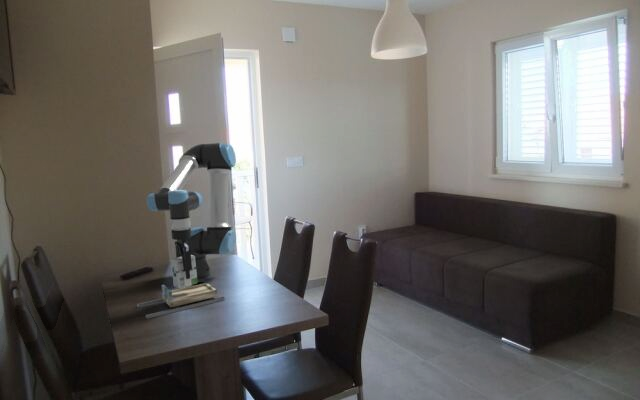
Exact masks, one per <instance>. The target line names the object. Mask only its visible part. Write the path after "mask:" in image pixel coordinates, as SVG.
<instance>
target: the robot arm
mask: <svg viewBox="0 0 640 400" xmlns="http://www.w3.org/2000/svg"><path fill="white" fill-rule="evenodd" d="M236 157H237V156H236V152H235V150H234V147H233V146H232V145H231V144H230V143H228V142H227V143H226V142H225V143H224V142H219V143H218V142H217V143H200V144H199V143H198V144H197V145H194V146H192V147H190V148H189V149H188V150H187V151H185V152H184V153H183V154H182V155H181V156H180V158H179V160H178V164H177V166H176V167H175V168H174V170H173V171H172V172H171V174H170V175H169V176H168V178H167V179H166V181H165V182H164V183H163V185H162V186H161V187H160V189H159V190H158V192H153V193H150V194H148V195H147V197H146V205H147V208H148V209H149V210H150V211H152V212H167V211H168V212H169V218H170V221H169V224H170V228H171V231H170V232H171V238H172V240H174V247H175V258H177V257H181V256H182V260H183V267H184V270H182V272H183V275H184V286H185V287H184V288H186V287H191V286H193V285H192V283H191V271H190V270H192V262H191V255H194V256H195V262H196V272H197V280H198V279H202V278H203V279H204V278H206V277H208V276H211V274H212V270H211V266H210V264H209V262H208V259H207V255H211V256H212V255H219V256H222V255H230V254H231V253H232V252H233V251H234V249H235V246H236V240H237V235H236V232H235V230H233V229H232V225H231V224H229V174H230V173H231V172H232V168H234V167H235V165H236V163H237V161H236V160H237V159H236ZM203 168H206V170H207V172H208V173H209V174H210V175H209V177H210V181H209V182H210V183H209V186H210V188H209V190H210V191H209V196H210V197H209V198H210V202H209V204H210V207H209V209H210V211H209V214H210V215H209V216H210V218H209V219H210V221H209V224H208V225H207V227H206V230H205V227H203V226H199V227H197V226H196V227H192V228H190V227H191V217H190V212H191V211H193V210H196V209H198V208H200V207H201V206H202V204H203V197H202V194H201V193H199V192H198V191H187V189H183V188H184V187H185V184H186V183H187V182H188V181H189V179H190V177H191V176H192V175H193V173H195V172H197V171H198V170H199V169H203Z"/></svg>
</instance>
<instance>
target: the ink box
mask: <svg viewBox="0 0 640 400" xmlns="http://www.w3.org/2000/svg"><path fill="white" fill-rule="evenodd" d="M170 261H171V263H170V264H171V271H172V273H171V274H172V282H173V287H175V288H177V289H182V288H186V287H185V286H184V275H183V272H182V270H184V267H183V260H182V256H181V257H177V258H176V257H174V258H171V259H170ZM191 262H192V270H190V271H191V283H192V286H194V285H198V283H199V282H198V279H197V272H196V262H195V256H194V255H191Z"/></svg>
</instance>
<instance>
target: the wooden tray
mask: <svg viewBox="0 0 640 400" xmlns="http://www.w3.org/2000/svg"><path fill="white" fill-rule="evenodd" d="M161 294H162V295H161V296H162V298H163V300H164V301H165V303H166V304H167V305H168V306H169V308H172V309H173V308H178V307H180V306H184V305H189V304H193V303H197V302H201V301H206V300H211V299H215V298H218V290H217V289H216V288H214V287H213V286H212V285H210V284H209V283H208V282H205V283H200V284H194V285H192V286H188V287H183V288H180V289H179V288H177V289H174V290H173V289H172V290H170V289H169V288H168V287H167V286H166V285H165V284H162V285H161Z"/></svg>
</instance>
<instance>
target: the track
mask: <svg viewBox="0 0 640 400" xmlns="http://www.w3.org/2000/svg"><path fill="white" fill-rule="evenodd" d="M221 301H225V296H220V297H215V298H214V299H211V300H210V299H206V300H202V301H198V302H194V303H189V304H185V305H181V306H178V307H177V308H173V307H172V308H170V309H165V310H161V311H157V312H154V313H149V314H145V319H152V318H155V317H160V316H163V315H168V314H169V315H170V314H173V313H176V312H182V311H185V310H189V309H193V308H198V307H202V306H206V305H211V304H215V303H219V302H221ZM164 302H165V301H164V300H163V297H162V298H159V299H154V300H150V301H145V302H140V303H136V304H137V306H136V307H137V308H142V307H146V306H147V307H148V306H150V305H155V304H159V303H164ZM165 303H166V302H165Z"/></svg>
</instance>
